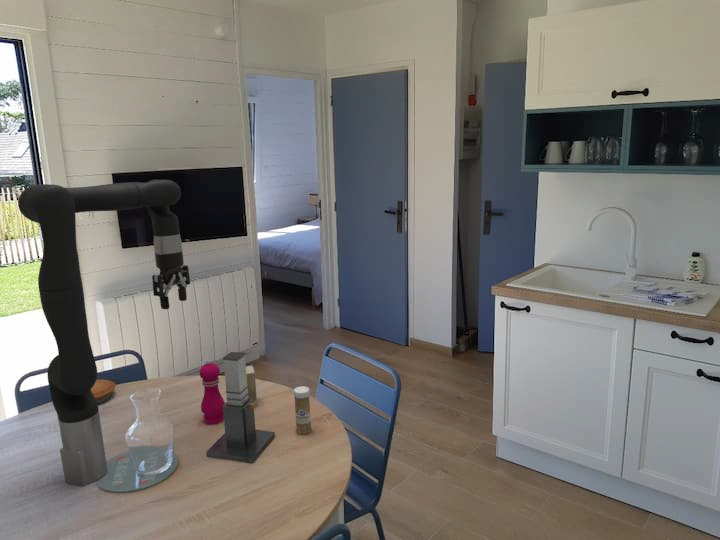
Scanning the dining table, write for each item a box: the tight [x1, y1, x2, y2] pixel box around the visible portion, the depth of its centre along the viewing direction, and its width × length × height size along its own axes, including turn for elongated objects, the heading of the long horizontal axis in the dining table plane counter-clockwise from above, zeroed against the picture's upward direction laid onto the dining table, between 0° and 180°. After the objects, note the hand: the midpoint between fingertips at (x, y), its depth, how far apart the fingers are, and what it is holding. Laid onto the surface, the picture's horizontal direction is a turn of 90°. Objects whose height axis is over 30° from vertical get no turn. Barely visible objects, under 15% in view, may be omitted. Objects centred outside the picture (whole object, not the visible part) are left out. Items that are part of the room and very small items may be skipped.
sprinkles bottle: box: [293, 386, 312, 435], centre depth 159 cm, size 5×5×14 cm
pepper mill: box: [199, 358, 226, 425], centre depth 167 cm, size 7×7×20 cm
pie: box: [91, 378, 117, 405], centre depth 185 cm, size 16×16×5 cm
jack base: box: [205, 398, 276, 464], centre depth 152 cm, size 14×14×14 cm
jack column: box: [222, 351, 249, 408], centre depth 150 cm, size 4×4×20 cm
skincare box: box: [246, 365, 258, 408], centre depth 177 cm, size 6×4×12 cm
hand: (174, 304), depth 159 cm, fingers open, 8 cm apart
